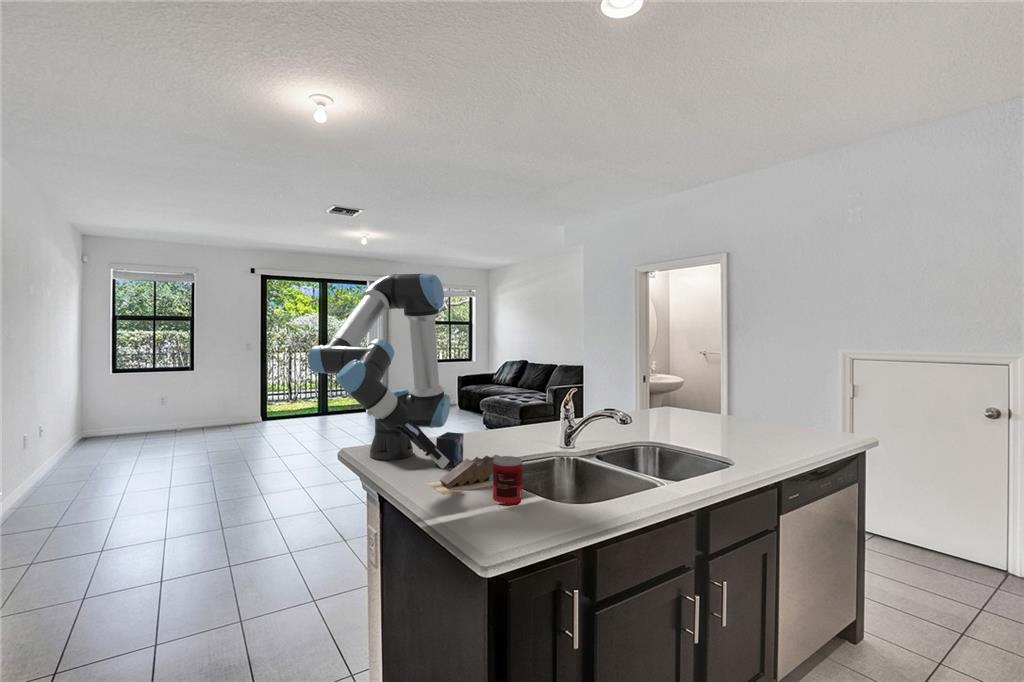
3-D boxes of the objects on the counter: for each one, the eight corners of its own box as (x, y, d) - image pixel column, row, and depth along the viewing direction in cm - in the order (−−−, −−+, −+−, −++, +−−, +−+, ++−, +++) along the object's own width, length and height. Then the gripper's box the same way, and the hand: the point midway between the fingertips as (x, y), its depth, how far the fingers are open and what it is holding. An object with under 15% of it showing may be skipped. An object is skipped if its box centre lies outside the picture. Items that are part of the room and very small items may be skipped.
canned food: (511, 494, 134) (511, 454, 134) (528, 503, 127) (528, 461, 127) (487, 499, 130) (487, 458, 130) (502, 508, 123) (503, 465, 123)
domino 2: (449, 477, 141) (476, 456, 146) (452, 482, 141) (479, 461, 146) (457, 482, 137) (485, 460, 141) (460, 486, 137) (487, 465, 142)
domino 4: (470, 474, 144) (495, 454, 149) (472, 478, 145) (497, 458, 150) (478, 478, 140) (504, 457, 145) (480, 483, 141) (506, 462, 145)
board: (425, 486, 140) (425, 482, 140) (477, 477, 150) (477, 473, 150) (443, 498, 130) (443, 494, 130) (498, 487, 140) (498, 484, 140)
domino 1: (439, 479, 139) (466, 458, 144) (441, 483, 139) (469, 462, 144) (447, 484, 135) (475, 462, 140) (449, 488, 135) (477, 466, 140)
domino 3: (460, 475, 143) (486, 455, 147) (462, 480, 143) (488, 459, 148) (468, 480, 138) (494, 459, 143) (470, 484, 139) (497, 463, 144)
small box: (454, 472, 155) (454, 439, 155) (434, 470, 157) (435, 438, 157) (464, 463, 166) (464, 432, 166) (445, 462, 167) (446, 431, 167)
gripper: (369, 416, 132) (426, 469, 141) (386, 424, 121) (447, 481, 130) (389, 395, 134) (443, 449, 144) (406, 401, 124) (464, 458, 133)
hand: (445, 464), depth 137 cm, fingers closed
